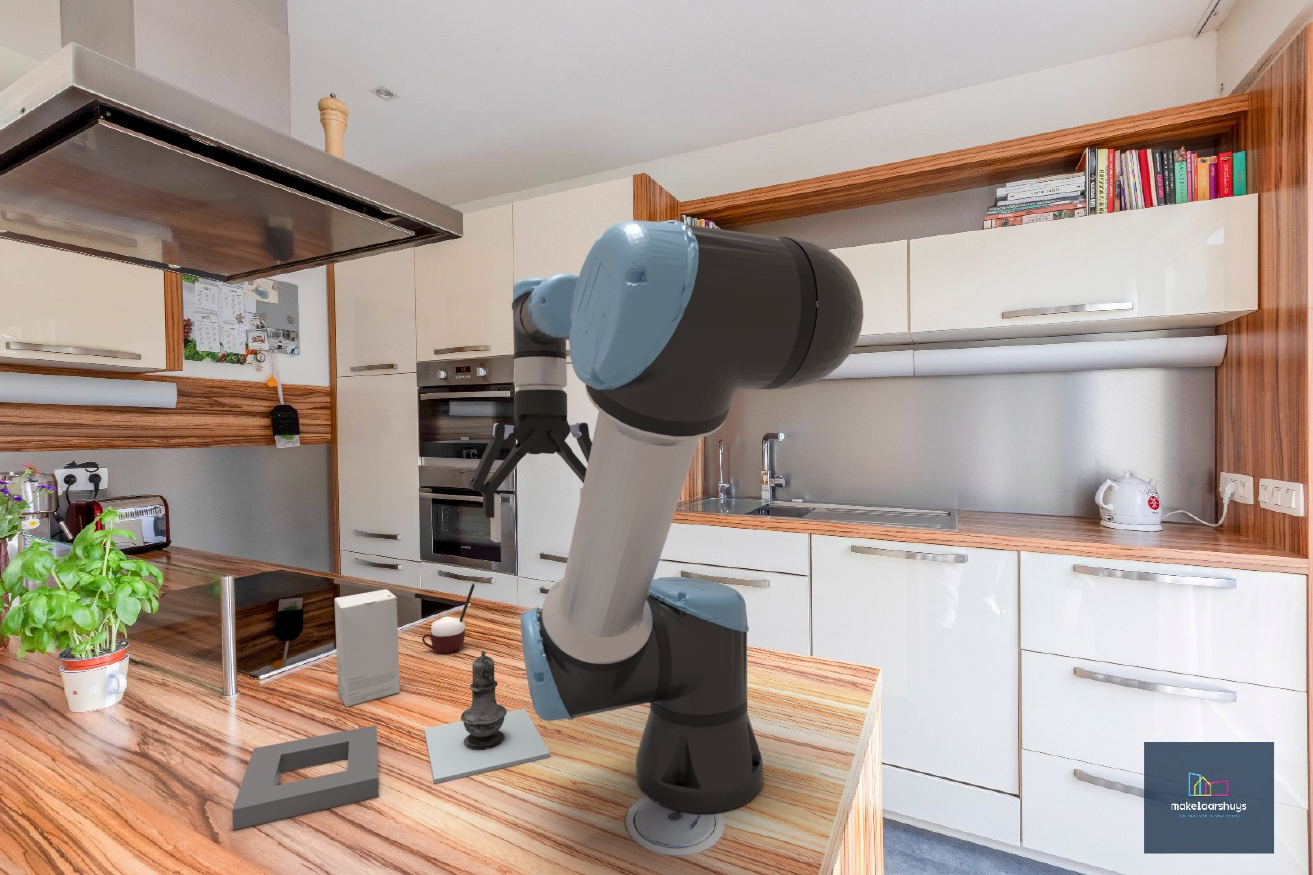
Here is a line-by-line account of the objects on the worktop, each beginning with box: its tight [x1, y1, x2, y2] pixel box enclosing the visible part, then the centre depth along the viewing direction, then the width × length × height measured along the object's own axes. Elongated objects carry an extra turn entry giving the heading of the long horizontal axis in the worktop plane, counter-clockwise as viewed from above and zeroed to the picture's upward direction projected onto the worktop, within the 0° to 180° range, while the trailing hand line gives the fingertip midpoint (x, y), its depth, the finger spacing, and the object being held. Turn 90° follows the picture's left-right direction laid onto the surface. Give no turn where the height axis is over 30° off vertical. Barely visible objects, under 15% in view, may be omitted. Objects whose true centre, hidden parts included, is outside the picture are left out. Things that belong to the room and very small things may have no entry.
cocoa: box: [421, 583, 475, 654], centre depth 119 cm, size 10×6×12 cm, turn 85°
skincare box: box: [334, 589, 401, 708], centre depth 100 cm, size 8×7×16 cm
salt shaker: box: [460, 650, 508, 750], centre depth 84 cm, size 6×6×12 cm
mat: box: [423, 708, 551, 785], centre depth 84 cm, size 14×14×1 cm
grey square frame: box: [231, 724, 380, 831], centre depth 76 cm, size 14×14×2 cm
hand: (542, 536), depth 91 cm, fingers open, 13 cm apart
